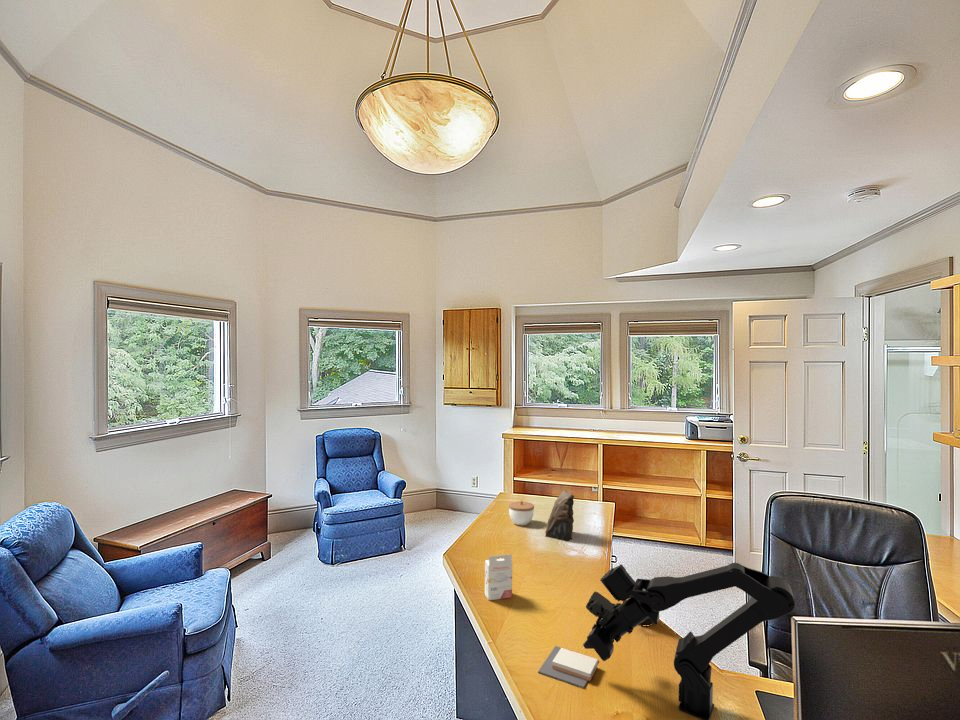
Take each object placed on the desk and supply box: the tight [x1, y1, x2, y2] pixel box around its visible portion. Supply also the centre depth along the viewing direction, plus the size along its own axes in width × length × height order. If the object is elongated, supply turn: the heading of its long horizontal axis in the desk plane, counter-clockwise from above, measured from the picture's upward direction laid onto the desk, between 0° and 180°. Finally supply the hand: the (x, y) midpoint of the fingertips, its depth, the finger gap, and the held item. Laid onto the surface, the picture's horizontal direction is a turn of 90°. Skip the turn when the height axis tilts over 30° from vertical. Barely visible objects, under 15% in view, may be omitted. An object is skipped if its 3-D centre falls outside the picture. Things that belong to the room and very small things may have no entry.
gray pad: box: [537, 645, 597, 689], centre depth 128 cm, size 12×13×1 cm
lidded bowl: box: [508, 500, 535, 526], centre depth 243 cm, size 13×13×11 cm
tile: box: [552, 647, 599, 682], centre depth 127 cm, size 2×7×10 cm
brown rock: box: [544, 489, 575, 542], centre depth 225 cm, size 13×13×20 cm
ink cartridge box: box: [484, 553, 513, 601], centre depth 166 cm, size 9×5×15 cm, turn 105°
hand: (584, 646), depth 126 cm, fingers closed
